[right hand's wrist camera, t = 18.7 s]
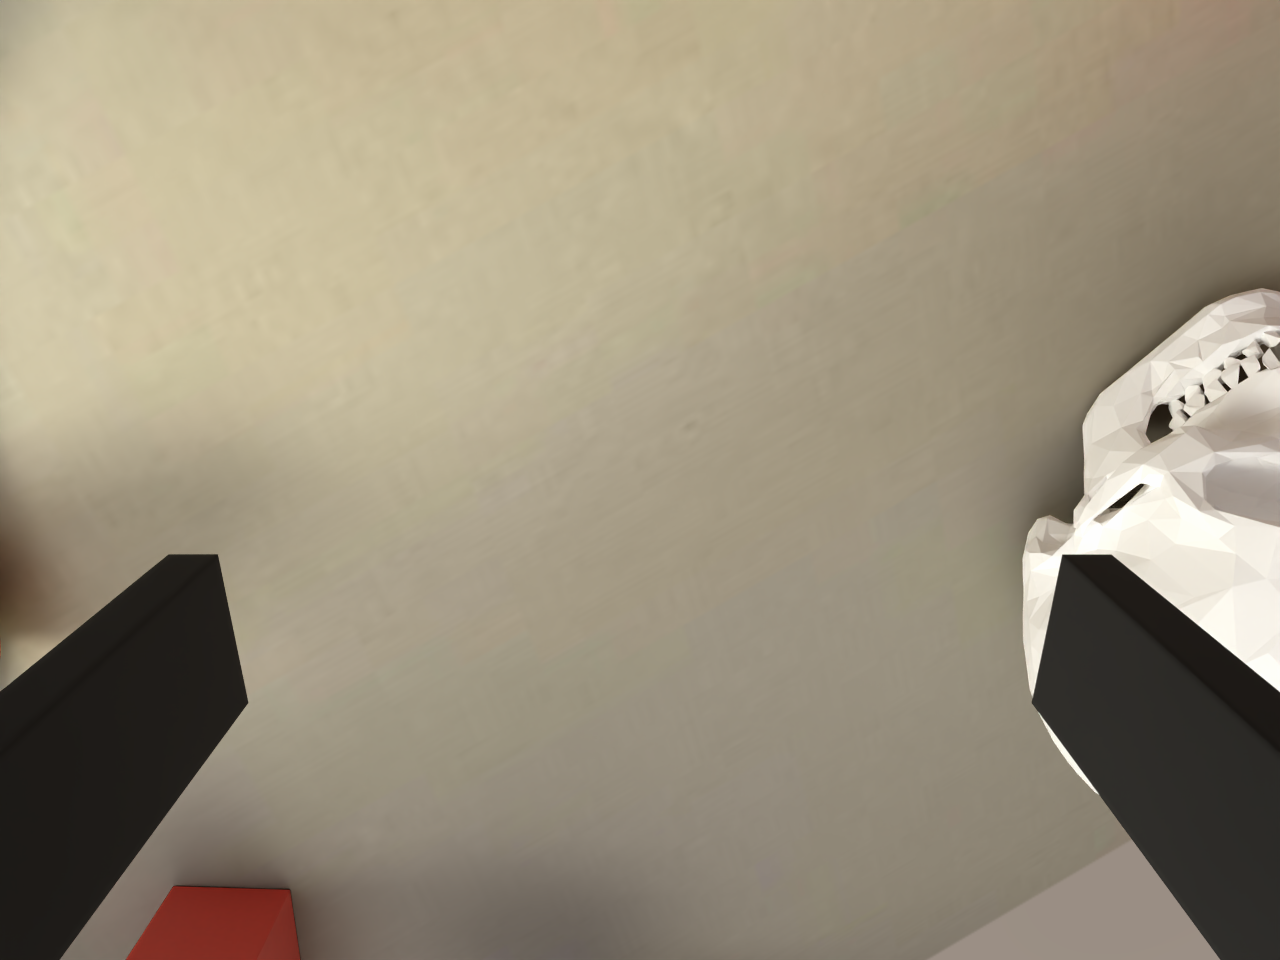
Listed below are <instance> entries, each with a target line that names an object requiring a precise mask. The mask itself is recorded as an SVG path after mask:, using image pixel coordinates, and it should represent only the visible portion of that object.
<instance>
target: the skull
mask: <svg viewBox="0 0 1280 960" xmlns="http://www.w3.org/2000/svg"><path fill="white" fill-rule="evenodd" d="M1262 344H1265V345H1266V346H1267V347H1269V349H1268V350H1267V351H1266V353H1265V354H1264V353H1263V351H1262V350H1261V348H1260V345H1262ZM1241 354H1244V355H1245V356H1247V358H1245V359H1243V360H1239V359H1236V357H1238V356H1239V355H1241ZM1261 356H1262V362H1263V364H1264V365H1265V366H1266V367H1267V369H1265V370H1262V371H1260V364H1259V362H1258V360H1257V359H1259V358H1260V357H1261ZM1241 365H1242V367H1243V369H1244V370H1245V372H1246V374H1247V376H1248V377H1249V378H1247V379H1245V380H1244V381H1242V382H1241V383H1239V384H1238V378H1239V367H1240V366H1241ZM1223 368H1224V369H1225V370H1223ZM1222 370H1223V371H1222ZM1223 383H1226V384H1227V385H1228V386H1229V387H1230V388H1231V390H1229V391H1228V392H1227V391H1226V389H1225V388H1224V387H1223V386H1222V384H1223ZM1202 384H1203V386H1204V389H1205V391H1204V392H1203V391H1202V389H1201V388H1200V385H1202ZM1184 395H1185V401H1186V404H1185V405H1184V403H1182V402H1181V401H1179V399H1180V398H1181V397H1182V396H1184ZM1204 395H1206V396H1207V398H1208V400H1209V401H1210V403H1209V404H1206V400H1205V396H1204ZM1160 404H1166V405H1169V407H1168V409H1169V411H1170V413H1171V415H1172V420H1171V421H1170V424H1169V427H1170V428H1171V429H1172V430H1173V432H1171V433H1170V434H1168V435H1166V436H1164V437H1162V438H1161V439H1159V440H1157V441H1155V442H1153V443H1151V442H1150V441H1149V439H1148V438H1147V436H1146V430H1147V426H1148V422H1149V418H1150V415H1151V414H1152V412H1153V411H1154V409H1155V408H1156V406H1157V405H1160ZM1184 412H1187V413H1188V414H1189V415H1190V416H1191V417H1190V418H1189V419H1188V417H1187V416H1186V415H1185V414H1184ZM1083 445H1084V496H1083V498H1082V499H1081V501H1080V502H1079V504H1078V505H1077V506H1076V508H1075V509H1074V523H1073V524H1069V523H1065V522H1063V521H1061V520H1059V519H1057V518H1055V517H1053V516H1051V515H1049V516H1045V517H1042V518H1038V519H1037V520H1036V522H1035V523H1034V525H1033V526H1032V528H1031V530H1030V531H1029V533H1028V536H1027V541H1026V545H1025V550H1024V555H1023V559H1022V562H1023V587H1024V597H1023V642H1024V650H1025V657H1026V665H1027V672H1028V679H1029V687H1030V691H1031V694H1032V697H1033V694H1034V689H1035V684H1036V679H1037V675H1038V670H1039V665H1040V660H1041V655H1042V650H1043V645H1044V641H1045V636H1046V631H1047V626H1048V621H1049V616H1050V611H1051V607H1052V602H1053V597H1054V592H1055V587H1056V582H1057V577H1058V573H1059V568H1060V563H1061V558H1062V554H1111V555H1113V556H1114V557H1115V558H1116V559H1118V560H1119V561H1120V562H1121V563H1123V564H1124V565H1125V566H1126V567H1127V568H1129V569H1130V570H1131V571H1132V572H1134V573H1135V574H1136V575H1137V576H1138V577H1140V578H1141V579H1142V580H1143V581H1145V582H1146V583H1147V584H1148V585H1149V586H1151V587H1152V588H1153V589H1154V590H1156V591H1157V592H1158V593H1159V594H1161V595H1162V596H1163V597H1164V598H1165V599H1167V600H1168V601H1169V602H1170V603H1172V604H1173V605H1174V606H1175V607H1176V608H1178V609H1179V610H1180V611H1181V612H1183V613H1184V614H1185V615H1186V616H1187V617H1189V618H1190V619H1191V620H1192V621H1194V622H1195V623H1196V624H1197V625H1199V626H1200V627H1201V628H1202V629H1203V630H1205V631H1206V632H1207V633H1208V634H1210V635H1211V636H1212V637H1213V638H1214V639H1216V640H1217V641H1218V642H1219V643H1221V644H1222V645H1223V646H1224V647H1225V648H1227V649H1228V650H1229V651H1230V652H1232V653H1233V654H1234V655H1235V656H1237V657H1238V658H1239V659H1240V660H1241V661H1243V662H1244V663H1245V664H1246V665H1248V666H1249V667H1250V668H1251V669H1252V670H1254V671H1255V672H1256V673H1257V674H1259V675H1260V676H1261V677H1262V678H1263V679H1265V680H1266V681H1267V682H1268V683H1270V684H1271V685H1272V686H1273V687H1275V688H1276V689H1277V690H1278V691H1279V692H1280V292H1278V291H1273V290H1269V289H1264V288H1259V289H1255V290H1251V291H1246V292H1242V293H1237V294H1233V295H1230V296H1227V297H1225V298H1223V299H1221V300H1219V301H1216V302H1214V303H1212V304H1210V305H1208V306H1206V307H1204V308H1203V309H1202V310H1201V311H1199V312H1198V313H1197V314H1196V315H1195V316H1193V317H1192V318H1191V319H1190V320H1189V321H1187V322H1186V323H1185V324H1184V325H1183V326H1182V327H1180V328H1179V329H1178V330H1177V331H1176V332H1174V333H1173V334H1172V335H1171V336H1170V337H1168V338H1167V339H1166V340H1165V341H1164V342H1162V343H1161V344H1160V345H1159V346H1158V347H1156V348H1155V349H1154V350H1153V351H1151V352H1150V353H1149V354H1148V355H1147V356H1145V357H1144V358H1143V359H1142V360H1141V361H1139V362H1138V363H1137V364H1136V365H1134V366H1133V367H1132V368H1131V369H1130V370H1128V371H1127V372H1126V373H1125V374H1123V375H1122V376H1121V377H1120V378H1119V379H1117V380H1116V381H1115V382H1114V383H1113V384H1111V385H1110V386H1109V387H1108V388H1106V389H1105V390H1104V391H1103V392H1102V393H1100V395H1099V396H1098V398H1097V399H1096V401H1095V402H1094V404H1093V405H1092V407H1091V408H1090V410H1089V411H1088V413H1087V415H1086V418H1085V420H1084V423H1083ZM1140 483H1142V484H1145V485H1144V486H1143V487H1142V488H1141V489H1140V490H1139V491H1138V493H1137V494H1136V495H1135V496H1134V497H1133V498H1132V499H1131V500H1130V501H1129V502H1128V503H1127V504H1126V505H1125V506H1124V507H1123V508H1109V509H1107V508H1108V507H1110V506H1111V505H1112V504H1114V503H1115V502H1116V501H1117V500H1119V499H1120V498H1121V497H1123V496H1124V495H1125V494H1127V493H1128V492H1129V491H1131V490H1132V489H1133V488H1135V487H1136V486H1137V485H1139V484H1140ZM1038 713H1039V712H1038ZM1039 715H1040V713H1039ZM1040 716H1041V715H1040ZM1041 718H1042V716H1041ZM1042 720H1043V722H1044V724H1045V726H1046V728H1047V730H1048V732H1049V733H1050V735H1051V737H1052V739H1053V741H1054V743H1055V744H1056V746H1057V747H1058V748H1059V750H1060V751H1061V753H1062V754H1063V756H1064V757H1065V759H1066V760H1067V761H1068V763H1069V764H1070V765H1071V766H1072V768H1073V769H1074V770H1075V771H1076V772H1077V773H1078V775H1079V776H1080V777H1081V778H1082V779H1083V780H1084V781H1085V782H1086V783H1087V784H1088V785H1089V786H1090V787H1091V789H1092V790H1094V791H1095V792H1096V793H1097V794H1098V792H1097V791H1096V790H1095V788H1094V787H1093V786H1092V784H1091V783H1090V781H1089V780H1088V779H1087V777H1086V776H1085V775H1084V773H1083V772H1082V771H1081V769H1080V768H1079V767H1078V765H1077V764H1076V762H1075V761H1074V760H1073V758H1072V757H1071V756H1070V754H1069V753H1068V752H1067V750H1066V749H1065V747H1064V746H1063V745H1062V743H1061V742H1060V741H1059V739H1058V738H1057V737H1056V735H1055V734H1054V733H1053V731H1052V730H1051V728H1050V727H1049V726H1048V724H1047V723H1046V722H1045V720H1044V719H1043V718H1042Z"/></svg>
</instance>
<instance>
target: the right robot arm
mask: <svg viewBox="0 0 1280 960" xmlns="http://www.w3.org/2000/svg"><path fill="white" fill-rule="evenodd" d="M247 704H248V699H247V694H246V689H245V684H244V679H243V675H242V670H241V665H240V660H239V655H238V650H237V645H236V641H235V636H234V631H233V626H232V621H231V616H230V611H229V607H228V602H227V597H226V592H225V587H224V582H223V577H222V573H221V568H220V563H219V558H218V554H169V555H167V556H166V557H165V558H164V559H162V560H161V561H160V562H159V563H157V564H156V565H155V566H154V567H153V568H151V569H150V570H149V571H148V572H146V573H145V574H144V575H143V576H142V577H140V578H139V579H138V580H137V581H135V582H134V583H133V584H132V585H131V586H129V587H128V588H127V589H126V590H124V591H123V592H122V593H121V594H119V595H118V596H117V597H116V598H115V599H113V600H112V601H111V602H110V603H108V604H107V605H106V606H105V607H104V608H102V609H101V610H100V611H99V612H97V613H96V614H95V615H94V616H93V617H91V618H90V619H89V620H88V621H86V622H85V623H84V624H83V625H81V626H80V627H79V628H78V629H77V630H75V631H74V632H73V633H72V634H70V635H69V636H68V637H67V638H66V639H64V640H63V641H62V642H61V643H59V644H58V645H57V646H56V647H55V648H53V649H52V650H51V651H50V652H48V653H47V654H46V655H45V656H43V657H42V658H41V659H40V660H39V661H37V662H36V663H35V664H34V665H32V666H31V667H30V668H29V669H28V670H26V671H25V672H24V673H23V674H21V675H20V676H19V677H18V678H17V679H15V680H14V681H13V682H12V683H10V684H9V685H8V686H7V687H5V688H4V689H3V690H2V691H1V692H0V960H60V958H61V957H62V956H63V954H64V953H65V952H66V950H67V949H68V948H69V946H70V945H71V943H72V942H73V941H74V939H75V938H76V937H77V935H78V934H79V933H80V931H81V930H82V928H83V927H84V926H85V924H86V923H87V922H88V920H89V919H90V918H91V916H92V915H93V913H94V912H95V911H96V909H97V908H98V907H99V905H100V904H101V903H102V901H103V900H104V899H105V897H106V896H107V894H108V893H109V892H110V890H111V889H112V888H113V886H114V885H115V884H116V882H117V881H118V879H119V878H120V877H121V875H122V874H123V873H124V871H125V870H126V869H127V867H128V866H129V865H130V863H131V862H132V860H133V859H134V858H135V856H136V855H137V854H138V852H139V851H140V850H141V848H142V847H143V845H144V844H145V843H146V841H147V840H148V839H149V837H150V836H151V835H152V833H153V832H154V830H155V829H156V828H157V826H158V825H159V824H160V822H161V821H162V820H163V818H164V817H165V816H166V814H167V813H168V811H169V810H170V809H171V807H172V806H173V805H174V803H175V802H176V801H177V799H178V798H179V796H180V795H181V794H182V792H183V791H184V790H185V788H186V787H187V786H188V784H189V783H190V781H191V780H192V779H193V777H194V776H195V775H196V773H197V772H198V771H199V769H200V768H201V767H202V765H203V764H204V762H205V761H206V760H207V758H208V757H209V756H210V754H211V753H212V752H213V750H214V749H215V747H216V746H217V745H218V743H219V742H220V741H221V739H222V738H223V737H224V735H225V734H226V733H227V731H228V730H229V728H230V727H231V726H232V724H233V723H234V722H235V720H236V719H237V718H238V716H239V715H240V713H241V712H242V711H243V709H244V708H245V707H246V705H247ZM1032 704H1033V705H1034V707H1035V708H1036V709H1037V711H1038V712H1039V713H1040V715H1041V716H1042V718H1043V719H1044V720H1045V722H1046V723H1047V724H1048V726H1049V727H1050V728H1051V730H1052V731H1053V733H1054V734H1055V735H1056V737H1057V738H1058V739H1059V741H1060V742H1061V743H1062V745H1063V746H1064V747H1065V749H1066V750H1067V752H1068V753H1069V754H1070V756H1071V757H1072V758H1073V760H1074V761H1075V762H1076V764H1077V765H1078V767H1079V768H1080V769H1081V771H1082V772H1083V773H1084V775H1085V776H1086V777H1087V779H1088V780H1089V781H1090V783H1091V784H1092V786H1093V787H1094V788H1095V790H1096V791H1097V792H1098V794H1099V795H1100V796H1101V798H1102V799H1103V801H1104V802H1105V803H1106V805H1107V806H1108V807H1109V809H1110V810H1111V811H1112V813H1113V814H1114V816H1115V817H1116V818H1117V820H1118V821H1119V822H1120V824H1121V825H1122V826H1123V828H1124V829H1125V830H1126V832H1127V833H1128V835H1129V836H1130V837H1131V839H1132V840H1133V841H1134V843H1135V844H1136V845H1137V847H1138V848H1139V850H1140V851H1141V852H1142V853H1143V855H1144V856H1145V858H1146V859H1147V860H1148V862H1149V863H1150V865H1151V866H1152V867H1153V869H1154V870H1155V871H1156V873H1157V874H1158V875H1159V877H1160V878H1161V879H1162V881H1163V882H1164V884H1165V885H1166V886H1167V888H1168V889H1169V890H1170V892H1171V893H1172V894H1173V896H1174V897H1175V899H1176V900H1177V901H1178V903H1179V904H1180V905H1181V907H1182V908H1183V909H1184V911H1185V912H1186V913H1187V915H1188V916H1189V918H1190V919H1191V920H1192V922H1193V923H1194V924H1195V926H1196V927H1197V928H1198V930H1199V931H1200V933H1201V934H1202V935H1203V937H1204V938H1205V939H1206V941H1207V942H1208V943H1209V945H1210V946H1211V948H1212V949H1213V950H1214V952H1215V953H1216V954H1217V956H1218V957H1219V958H1220V960H1280V692H1279V691H1278V690H1277V689H1276V688H1275V687H1273V686H1272V685H1271V684H1270V683H1268V682H1267V681H1266V680H1265V679H1263V678H1262V677H1261V676H1260V675H1259V674H1257V673H1256V672H1255V671H1254V670H1252V669H1251V668H1250V667H1249V666H1248V665H1246V664H1245V663H1244V662H1243V661H1241V660H1240V659H1239V658H1238V657H1237V656H1235V655H1234V654H1233V653H1232V652H1230V651H1229V650H1228V649H1227V648H1225V647H1224V646H1223V645H1222V644H1221V643H1219V642H1218V641H1217V640H1216V639H1214V638H1213V637H1212V636H1211V635H1210V634H1208V633H1207V632H1206V631H1205V630H1203V629H1202V628H1201V627H1200V626H1199V625H1197V624H1196V623H1195V622H1194V621H1192V620H1191V619H1190V618H1189V617H1187V616H1186V615H1185V614H1184V613H1183V612H1181V611H1180V610H1179V609H1178V608H1176V607H1175V606H1174V605H1173V604H1172V603H1170V602H1169V601H1168V600H1167V599H1165V598H1164V597H1163V596H1162V595H1161V594H1159V593H1158V592H1157V591H1156V590H1154V589H1153V588H1152V587H1151V586H1149V585H1148V584H1147V583H1146V582H1145V581H1143V580H1142V579H1141V578H1140V577H1138V576H1137V575H1136V574H1135V573H1134V572H1132V571H1131V570H1130V569H1129V568H1127V567H1126V566H1125V565H1124V564H1123V563H1121V562H1120V561H1119V560H1118V559H1116V558H1115V557H1114V556H1113V555H1111V554H1062V558H1061V563H1060V568H1059V573H1058V577H1057V582H1056V587H1055V592H1054V597H1053V602H1052V607H1051V611H1050V616H1049V621H1048V626H1047V631H1046V636H1045V641H1044V645H1043V650H1042V655H1041V660H1040V665H1039V670H1038V675H1037V679H1036V684H1035V689H1034V694H1033V699H1032Z"/></svg>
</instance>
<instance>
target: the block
mask: <svg viewBox="0 0 1280 960" xmlns="http://www.w3.org/2000/svg"><path fill="white" fill-rule="evenodd" d="M126 960H300V954H299V947H298V940H297V934H296V927H295V920H294V914H293V907H292V900H291V894H290V890H280V889H247V888H215V887H182V886H173V887H172V889H171V891H170V892H169V894H168V895H167V897H166V898H165V900H164V901H163V903H162V904H161V906H160V908H159V909H158V911H157V912H156V914H155V915H154V917H153V918H152V920H151V921H150V923H149V925H148V926H147V928H146V929H145V931H144V932H143V934H142V935H141V937H140V938H139V940H138V942H137V943H136V945H135V946H134V948H133V949H132V951H131V952H130V954H129V955H128V957H127V959H126Z"/></svg>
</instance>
